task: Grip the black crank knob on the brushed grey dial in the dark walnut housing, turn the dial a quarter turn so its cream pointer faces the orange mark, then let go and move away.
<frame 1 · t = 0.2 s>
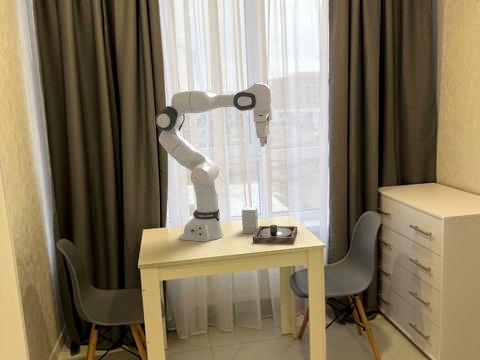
hand: (263, 145, 241), 47 cm above the table, tool pointing down, fingers open, 8 cm apart
dial housing: (275, 237, 249), on the table
supplement box: (250, 231, 262), on the table
dial: (275, 228, 248), point 4 cm above the table, hinge at 0.0°
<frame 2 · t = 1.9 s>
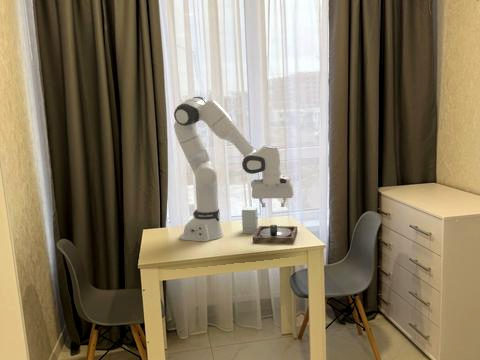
hand: (273, 206, 240), 17 cm above the table, tool pointing down, fingers open, 8 cm apart
nothing on the table moved.
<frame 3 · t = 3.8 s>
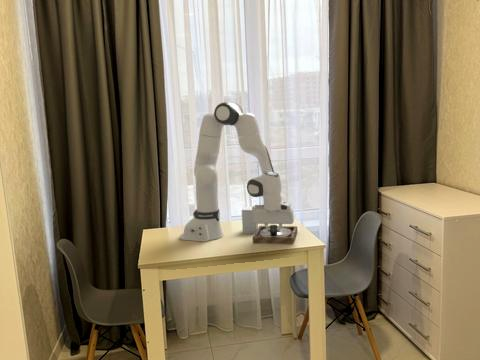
hand: (273, 232, 243), 5 cm above the table, tool pointing down, fingers closed on dial, 3 cm apart
dial: (275, 228, 248), point 4 cm above the table, hinge at 0.0°, touching gripper
everything else where it was.
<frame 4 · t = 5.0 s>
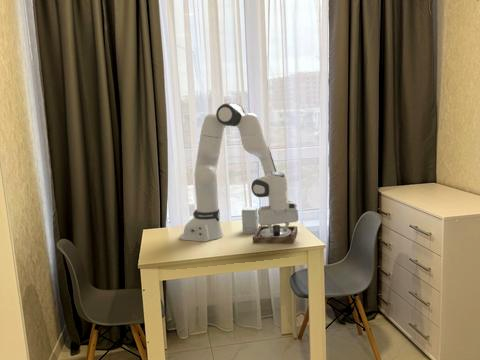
hand: (278, 232, 243), 4 cm above the table, tool pointing down, fingers open, 5 cm apart
dial: (275, 228, 248), point 4 cm above the table, hinge at 13.2°, touching gripper
everything else where it was.
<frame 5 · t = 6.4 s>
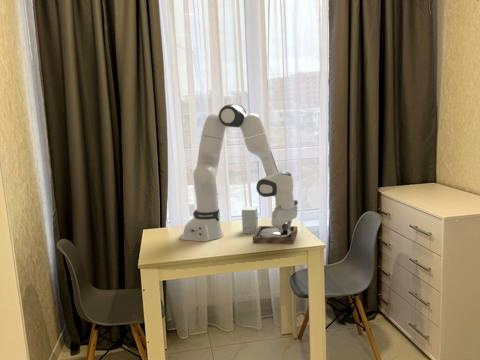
hand: (284, 230, 245), 4 cm above the table, tool pointing down, fingers open, 6 cm apart
dial: (275, 228, 248), point 4 cm above the table, hinge at 51.2°, touching gripper
everything else where it was.
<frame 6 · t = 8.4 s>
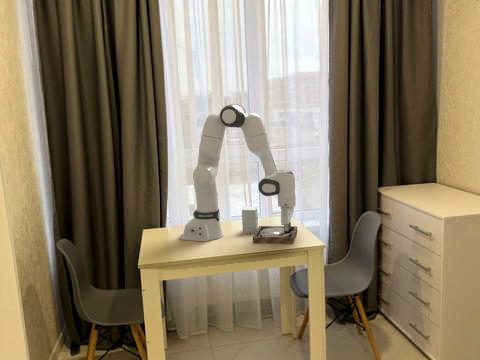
hand: (287, 228, 247), 5 cm above the table, tool pointing down, fingers open, 5 cm apart
dial: (275, 228, 248), point 4 cm above the table, hinge at 83.3°
everything else where it was.
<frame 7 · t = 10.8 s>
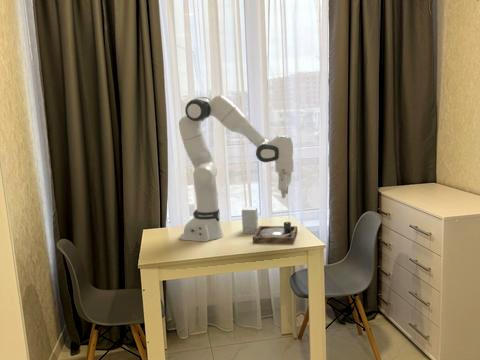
hand: (284, 195, 245), 22 cm above the table, tool pointing down, fingers open, 8 cm apart
nothing on the table moved.
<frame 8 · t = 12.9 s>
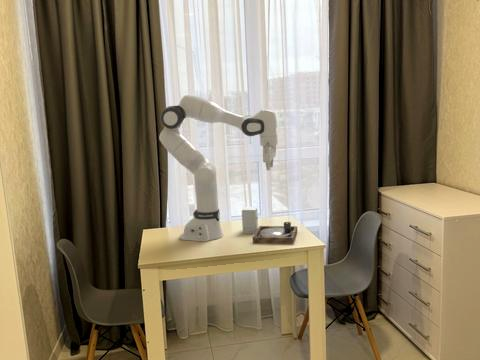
hand: (269, 168, 251), 34 cm above the table, tool pointing down, fingers open, 8 cm apart
nothing on the table moved.
at the end: dial at +83° (first picture: +0°); supplement box moved 0.2 cm from its start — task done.
